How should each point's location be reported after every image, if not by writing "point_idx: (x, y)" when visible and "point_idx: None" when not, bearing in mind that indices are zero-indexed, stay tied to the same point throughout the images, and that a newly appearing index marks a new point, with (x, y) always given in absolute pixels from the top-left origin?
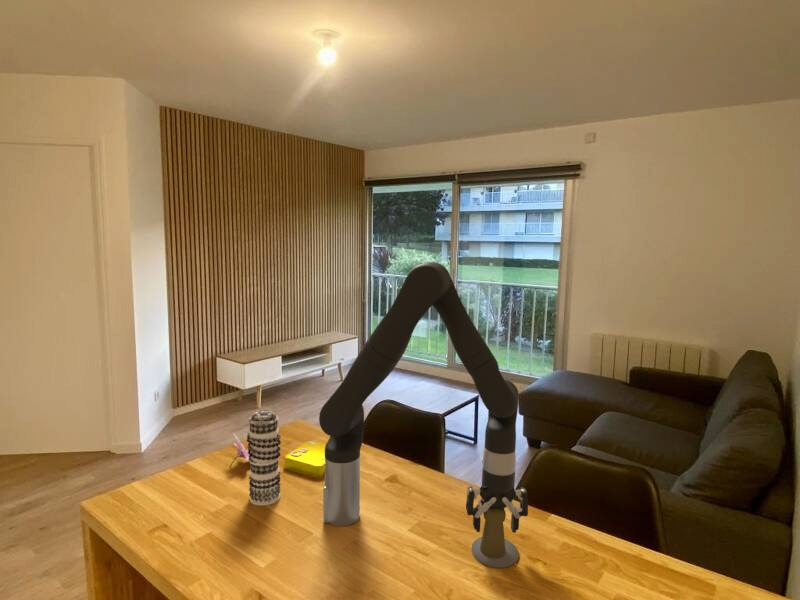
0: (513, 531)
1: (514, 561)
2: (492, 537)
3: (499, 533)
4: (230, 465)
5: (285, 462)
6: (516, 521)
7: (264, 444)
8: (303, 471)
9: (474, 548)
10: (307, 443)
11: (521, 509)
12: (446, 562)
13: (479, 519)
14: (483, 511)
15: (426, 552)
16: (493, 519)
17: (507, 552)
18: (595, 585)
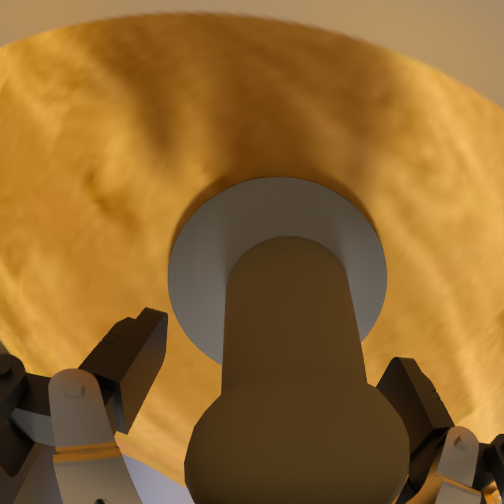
0: (160, 314)
1: (216, 195)
2: (333, 305)
3: (284, 314)
4: None
5: (493, 500)
6: (106, 357)
7: None
8: (485, 496)
9: (364, 320)
10: None
11: (25, 425)
12: (481, 268)
13: (436, 420)
14: (449, 479)
15: (498, 324)
16: (375, 411)
17: (222, 266)
18: (14, 68)
